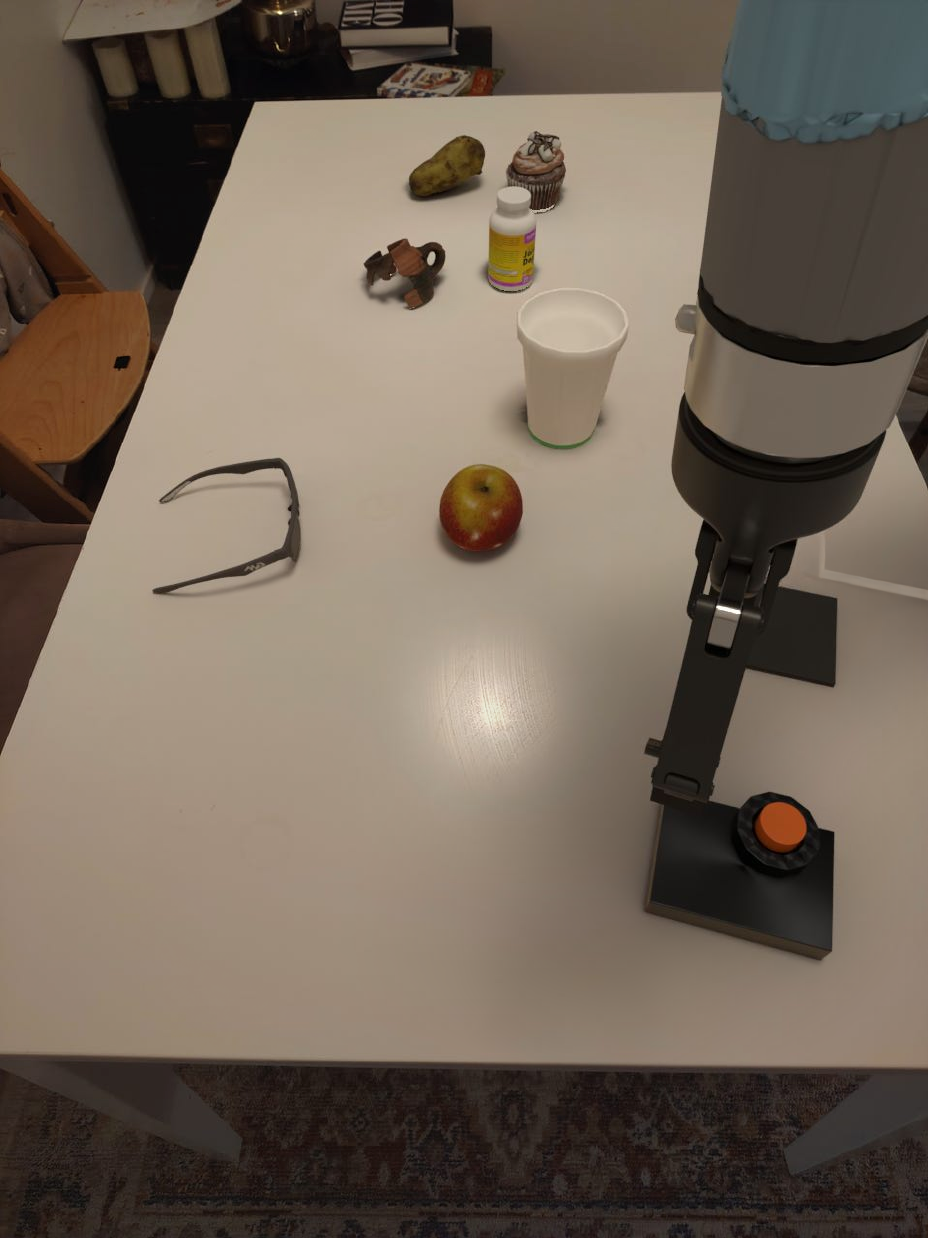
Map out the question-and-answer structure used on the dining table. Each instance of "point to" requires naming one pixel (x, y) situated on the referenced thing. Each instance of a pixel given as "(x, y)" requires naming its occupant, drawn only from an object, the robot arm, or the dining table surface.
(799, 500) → the robot arm
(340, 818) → the dining table surface
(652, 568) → the dining table surface
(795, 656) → the drip mat
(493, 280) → the supplement bottle
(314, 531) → the dining table surface
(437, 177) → the potato
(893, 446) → the dining table surface
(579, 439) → the cup
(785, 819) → the button
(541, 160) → the cupcake
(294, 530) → the sunglasses
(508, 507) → the fruit
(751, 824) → the machine
